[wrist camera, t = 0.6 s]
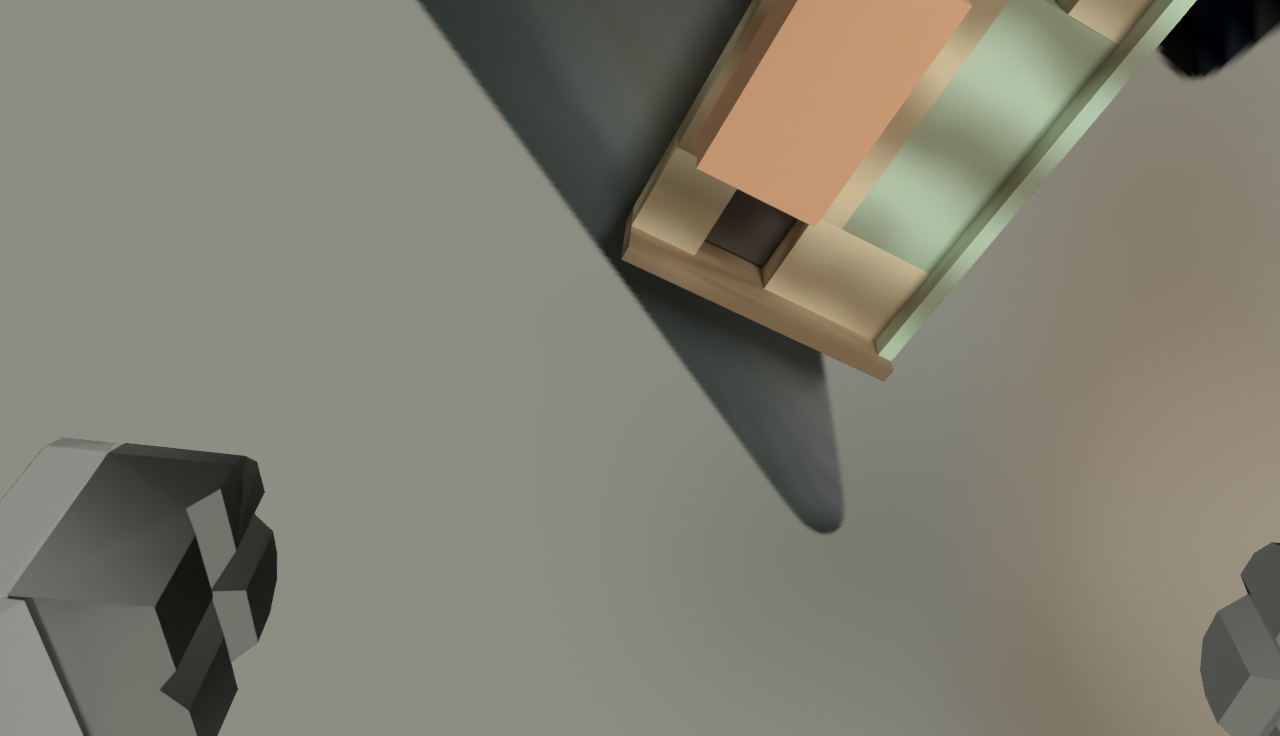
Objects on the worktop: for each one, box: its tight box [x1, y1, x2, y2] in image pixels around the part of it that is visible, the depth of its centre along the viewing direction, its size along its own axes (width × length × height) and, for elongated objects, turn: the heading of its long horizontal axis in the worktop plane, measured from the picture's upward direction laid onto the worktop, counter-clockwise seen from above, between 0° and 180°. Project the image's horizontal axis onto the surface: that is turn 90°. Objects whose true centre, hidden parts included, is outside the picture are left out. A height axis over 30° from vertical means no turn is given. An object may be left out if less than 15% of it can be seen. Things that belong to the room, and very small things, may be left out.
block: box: [696, 0, 972, 227], centre depth 43 cm, size 11×6×4 cm, turn 153°
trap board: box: [622, 0, 1196, 381], centre depth 45 cm, size 24×15×4 cm, turn 153°
